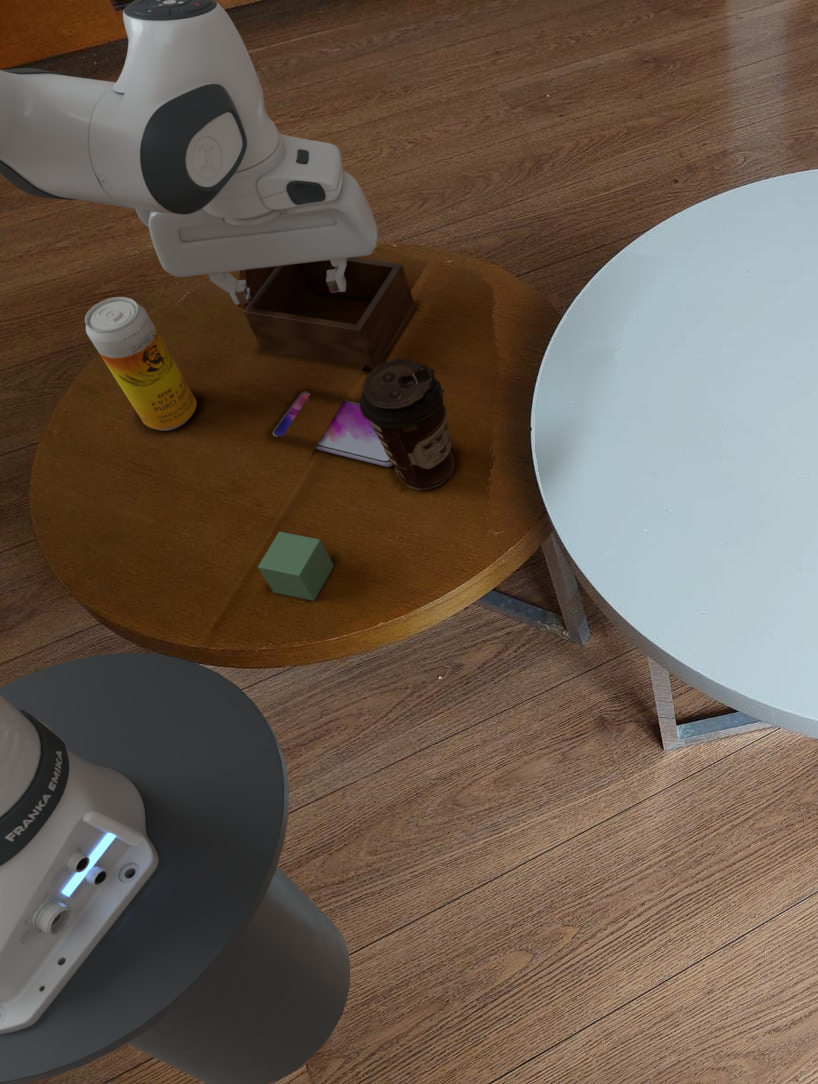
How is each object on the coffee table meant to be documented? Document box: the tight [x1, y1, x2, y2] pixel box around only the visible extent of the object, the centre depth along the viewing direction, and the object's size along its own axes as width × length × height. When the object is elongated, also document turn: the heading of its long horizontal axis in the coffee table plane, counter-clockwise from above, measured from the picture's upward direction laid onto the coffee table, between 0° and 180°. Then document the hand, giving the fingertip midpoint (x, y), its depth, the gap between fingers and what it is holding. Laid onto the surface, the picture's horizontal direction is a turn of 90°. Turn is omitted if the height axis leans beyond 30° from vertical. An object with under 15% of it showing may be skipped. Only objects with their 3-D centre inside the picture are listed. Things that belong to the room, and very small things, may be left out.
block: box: [257, 531, 335, 602], centre depth 110 cm, size 4×4×4 cm
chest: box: [243, 257, 417, 374], centre depth 130 cm, size 15×12×7 cm
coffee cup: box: [359, 358, 455, 491], centre depth 115 cm, size 9×8×13 cm
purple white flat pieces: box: [272, 391, 394, 468], centre depth 123 cm, size 7×1×15 cm
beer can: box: [84, 296, 198, 432], centre depth 120 cm, size 6×6×15 cm
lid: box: [237, 266, 277, 311], centre depth 122 cm, size 15×12×1 cm
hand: (291, 294), depth 111 cm, fingers open, 8 cm apart
